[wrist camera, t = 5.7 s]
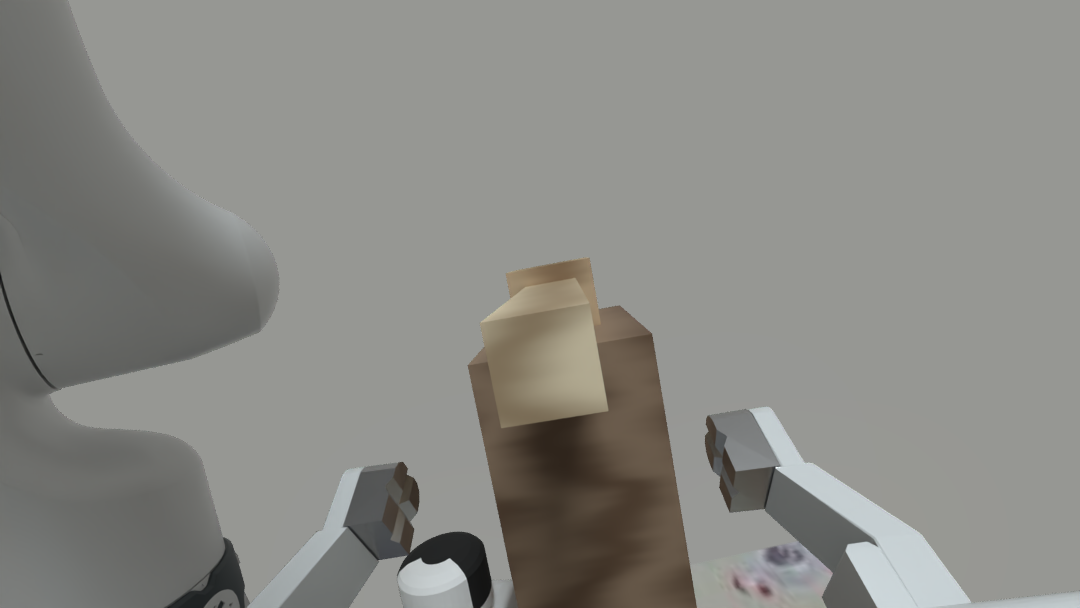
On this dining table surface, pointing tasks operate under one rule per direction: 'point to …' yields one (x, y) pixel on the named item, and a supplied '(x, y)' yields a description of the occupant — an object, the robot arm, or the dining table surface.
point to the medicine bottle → (452, 576)
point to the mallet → (546, 345)
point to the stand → (592, 488)
